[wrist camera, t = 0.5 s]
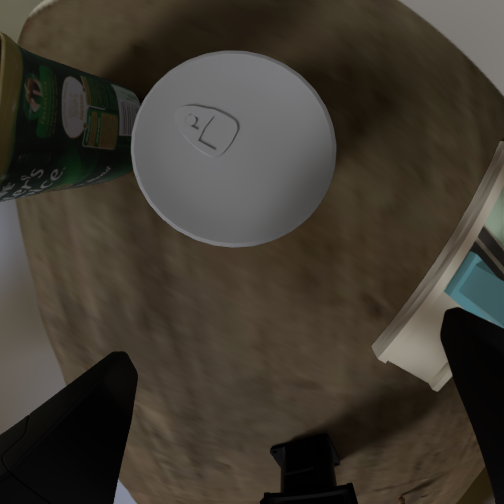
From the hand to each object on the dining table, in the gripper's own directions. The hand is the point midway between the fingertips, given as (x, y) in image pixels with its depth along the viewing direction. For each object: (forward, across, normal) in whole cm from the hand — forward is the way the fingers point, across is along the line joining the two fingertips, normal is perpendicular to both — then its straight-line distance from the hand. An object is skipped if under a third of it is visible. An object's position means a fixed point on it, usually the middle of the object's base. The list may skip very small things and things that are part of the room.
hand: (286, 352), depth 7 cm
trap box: (+14, -17, +8) cm, 24 cm away
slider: (+12, -16, +9) cm, 22 cm away
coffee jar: (+17, +13, -8) cm, 23 cm away
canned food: (+16, +1, -3) cm, 17 cm away
